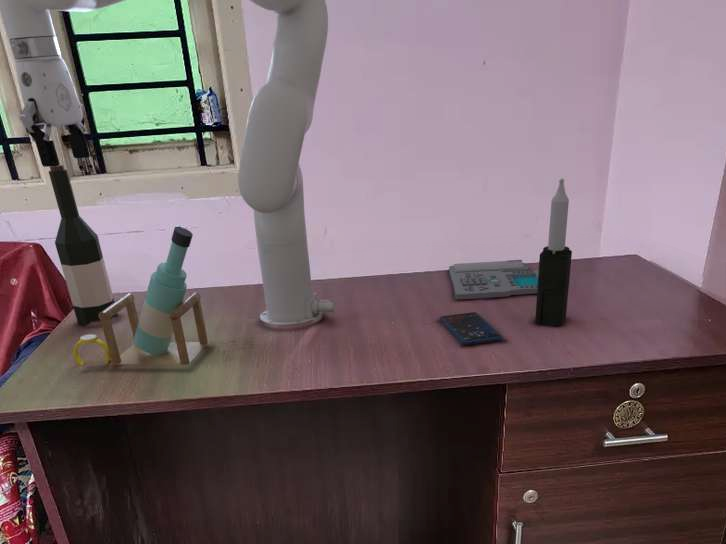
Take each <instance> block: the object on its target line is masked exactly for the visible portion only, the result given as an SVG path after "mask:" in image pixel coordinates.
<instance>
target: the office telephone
mask: <svg viewBox="0 0 726 544" xmlns="http://www.w3.org/2000/svg"><path fill="white" fill-rule="evenodd" d="M448 272H449V276H450V280H451V283H452V286H453V290H454V297H455V300H470V299H488V298H505V297H510V296H516V295H529V294H533V295H534V294H537V287H538V273H539V269H533V270H532V269H531V270H529V267H528V265H527V264H526V263H525V262H523V260H522V259H511V260H499V261H481V262H464V263H453V265H449V266H448Z"/></svg>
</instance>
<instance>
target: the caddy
mask: <svg viewBox="0 0 726 544" xmlns="http://www.w3.org/2000/svg"><path fill="white" fill-rule="evenodd" d="M134 300H135V296H134V294H132V293H130V292H127V293H126V294H124V295H123V296H122V297H119V298H118V299H117V300H116V301H114V303H113V304H112V305H110V306H109V307H107V308H106V309H104V310H103V311H102V312H100V313H99V315H98V317H99V319H100V320H101V321H100V324H101V327H102V331H103V334H104V335H103V336H104V338H105V343H106V345H107V346H108V349H109V353H110V357H111V358H110V361H111V363H110V365H146V366H147V365H149V366H150V365H152V366H153V365H154V366H155V365H156V366H157V365H160V366H161V365H162V366H164V365H165V366H166V365H167V366H168V365H169V366H170V365H172V366H174V365H177V366H179V365H181V366H182V365H183V366H185V365H186V366H189V365H190V364H191V363H192V362H193V360H194V359H195V358H196V357H197V356H199V354H200V353H201V352H202V351H203V350H204V349H205V348H206V347H207V346H208V345H209V343H210V341H209V340H208V334H207V330H206V323H205V319H204V314H203V309H202V303H201V295H200V293H199V292H192V294H190V295H189V296H188V297H186V298H185V299H183V302H182V303H181V304H180V305H179V306H177V307H176V308H175V309H174V310H173V311H172V312H170V314H169V317H170V319H171V322H172V326H173V331H174V332H173V336H174V340H175V341H170V344H169V347H168V350H167V352H166V353H165V354H161V355H156V354H151V353H147V352H145V351H143V350H141V349H140V348H138V347H137V346H136V345H135V343H134V342H133V344H132V345H131V346H129V347H128V348H127V349H126V350H125V351H123V352H122V353H121V354H120V351H119V347H118V344H117V343H118V342H117V339H116V336H115V332H114V328H113V325H112V320H111V318H113V317H112V316H113V315H115V314H116V313H117V314H118V313H119V312H120V311H122V310H123V309H125V308H126V312H127V317H128V321H129V324H130V329H131V334H132V336H133V338H134V337H135V333H136V330H137V326H138V321H139V317H138V312H137V309H136V308H137V307H136V304H135V301H134ZM190 309H192V311H193V317H194V321H195V326H196V332H197V336H198V341H186V338H185V333H184V328H183V323H182V319H181V318H182V316H184V314H186V313H187V312H188V311H190Z"/></svg>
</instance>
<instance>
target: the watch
mask: <svg viewBox="0 0 726 544" xmlns="http://www.w3.org/2000/svg"><path fill="white" fill-rule="evenodd" d="M93 343H95V344H96V345H99V346H100V347H101V348H102V349H103V350H104V352H105V355H106V361H105V364H109V363H110V361H111V357H110V353H109V349H108V346H107V343H106V342H105V341H103V340H102V339H100V338H98V336H97V335H96V334H92V333H91V334H90V333H89V334H83V335H81V336H80V338H79V340H78V341H77V342H76V343H75V345H74V348H73V358H74V360H75V362H76V363H77V365H79V366H83V365H84V363H85V362H84V361H83V359H82V358H81V356H80V354H79V347H80V345H81V344H93Z"/></svg>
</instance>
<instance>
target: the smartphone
mask: <svg viewBox="0 0 726 544" xmlns="http://www.w3.org/2000/svg"><path fill="white" fill-rule="evenodd" d="M439 321H440V322H441V323H442V324H443V325H444V326H445V327H446V328H447V329H448V330H449V332H451V334H452V335H453V336H454V337H455V338H456V339H457V341H459V342H460V343H461V345H463V346H468V345H469V346H470V345H478V344H483V343H484V344H485V343H491V342H498V341H499V342H500V341H502V340H503V336H502V335H501V334H500V333H499V332H498V331H497V330H496V329H495V328H493V326H491V325H490V324H489V323H488V322H487V321H486V320H485V319H484V318H483V317H482V316H481V315H480V314H479V313H477V312H476V311H473V312H464V313H456V314H448V315H442V316H440V317H439Z"/></svg>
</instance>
